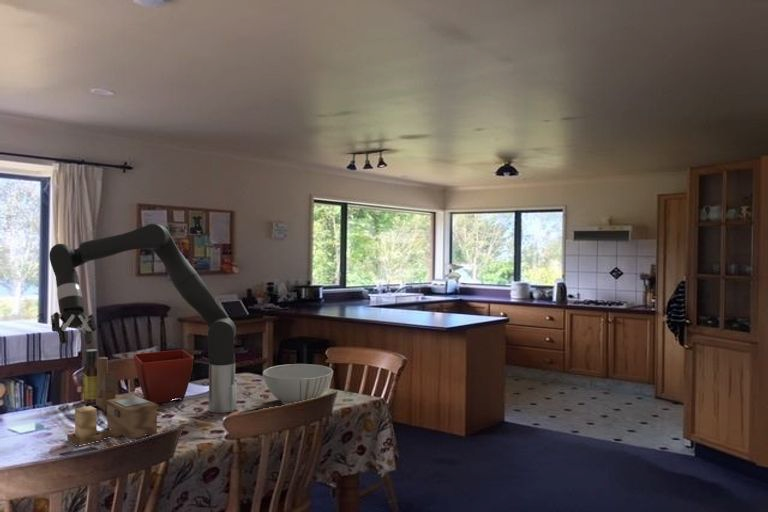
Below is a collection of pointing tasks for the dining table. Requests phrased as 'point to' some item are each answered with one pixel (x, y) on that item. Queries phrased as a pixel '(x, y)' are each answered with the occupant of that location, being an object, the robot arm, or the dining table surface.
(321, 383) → the decorative bowl
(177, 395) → the plant pot
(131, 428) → the brown box with frame
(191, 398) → the dining table surface
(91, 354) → the sauce bottle
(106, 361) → the wooden block
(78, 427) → the tan cylinder
